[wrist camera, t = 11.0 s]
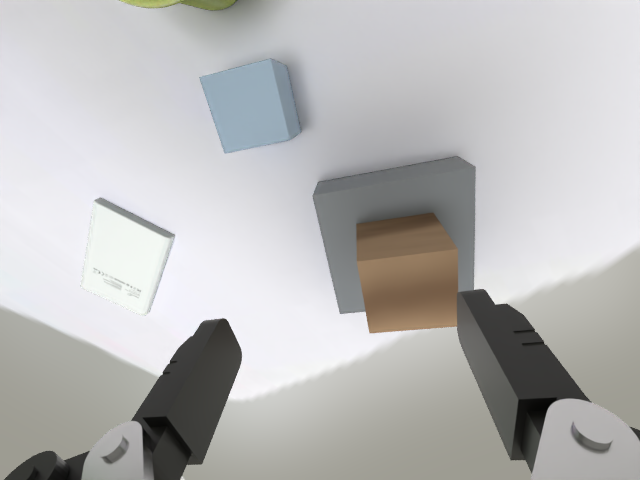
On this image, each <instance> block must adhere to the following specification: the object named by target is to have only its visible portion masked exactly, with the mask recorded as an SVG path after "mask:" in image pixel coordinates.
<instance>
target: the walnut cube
mask: <svg viewBox="0 0 640 480" xmlns="http://www.w3.org/2000/svg"><path fill="white" fill-rule="evenodd" d="M356 240H357V266H358V271H359V277H360V283H361V288H362V294H363V299H364V305H365V310H366V316H367V322H368V327H369V333H379V332H392V331H404V330H417V329H430V328H443V327H455V326H457V293H458V248H457V247H456V245H455V244H454V242H453V241H452V239H451V238H450V236H449V235H448V234H447V232H446V231H445V229H444V228H443V226H442V225H441V223H440V222H439V220H438V219H437V217H436V216H435V214H434V213H427V214H420V215H413V216H407V217H400V218H393V219H386V220H380V221H373V222H366V223H360V224H356Z"/></svg>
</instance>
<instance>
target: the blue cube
mask: <svg viewBox="0 0 640 480" xmlns="http://www.w3.org/2000/svg"><path fill="white" fill-rule="evenodd" d="M199 78H200V81H201V84H202V87H203V90H204V93H205V96H206V99H207V102H208V105H209V108H210V111H211V114H212V117H213V120H214V123H215V126H216V129H217V132H218V135H219V138H220V141H221V144H222V147H223V150H224V153H225V154H226V153H230V152H235V151H240V150H245V149H250V148H254V147H259V146H264V145H269V144H274V143H278V142H283V141H288V140H291V139H292V138H294V137H295V136H297V135H298V134H299V133H301V129H300V124H299V120H298V115H297V111H296V106H295V101H294V97H293V92H292V88H291V83H290V79H289V74H288V70H287V66H286V65H284V64H282V63H280V62H277V61H275V60H273V59H271V58H270V59H267V60H263V61H259V62H255V63H252V64H248V65H244V66H240V67H236V68H233V69H229V70H225V71H221V72H218V73H214V74H210V75H206V76H203V77H199Z"/></svg>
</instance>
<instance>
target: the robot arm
mask: <svg viewBox="0 0 640 480" xmlns="http://www.w3.org/2000/svg"><path fill="white" fill-rule="evenodd" d="M457 331H458V336H459V340H460V344H461V347H462V349H463V351H464V354H465V356H466V358H467V360H468V363H469V365H470V368H471V370H472V372H473V374H474V377H475V379H476V381H477V383H478V386H479V388H480V391H481V392H482V395H483V398H484V400H485V402H486V404H487V407H488V409H489V411H490V414H491V416H492V418H493V420H494V423H495V425H496V427H497V430H498V432H499V434H500V437H501V439H502V441H503V443H504V446H505V448H506V450H507V453H508V455H509V457H510V459H511V460H526V462H527V464H528V467H529V469H530V471H531V473H532V476H531V480H640V430H637V429H635V428H632V427H629V426H628V425H627V424H626V423H625V422H623V421H622V420H621V419H620V418H619V417H617V416H616V415H614V414H613V413H611V412H610V411H608V410H606V409H605V408H603V407H601V406H598V405H596V404H593V403H592V402H591V401H590V400H589V399H588V398H587V397H586V396H585V395H584V393H583V392H582V391H581V390H580V388H579V387H578V385H577V384H576V383H575V381H574V380H573V379H572V378H571V376H570V375H569V374H568V372H567V371H566V370H565V368H564V367H563V366H562V365H561V363H560V362H559V361H558V359H557V358H556V357H555V355H554V354H553V353H552V352H551V350H550V349H549V348H548V346H547V345H545V344H544V341H543V340H542V338H541V337H540V336H539V334H538V333H537V332H535V329H534V328H533V327H532V325H531V324H530V323H529V321H528V320H527V319H526V318H525V316H524V315H523V314H521V313H520V312H518V311H517V310H515V309H514V308H512V307H511V306H509V305H508V304H499V305H495V304H494V302H493V301H492V299H491V298H490V296H489V295H488V293H487V292H486V291H485V290H484V289H478V290H470V291H461V292H458V293H457ZM241 360H242V353H241V348H240V346H239V344H238V341H237V339H236V337H235V335H234V333H233V331H232V329H231V327H230V325H229V323H228V321H227V320H226V319H214V320H206V321H203V322H202V323H201V324H200V326H199V327H198V329H197V331H196V332H195V334H194V335H193V336H191V337H190V338H189V339H188V340H187V341H185V342H184V343H183V344H182V345H181V346H180V347H179V348H178V350H177V351H176V353H175V354H174V356H173V357H172V359H171V360H170V364H168V365H167V366H166V368H165V370H164V371H163V375H161V376H160V377H159V379H158V380H157V382H156V384H155V385H154V386H153V388H152V389H151V391H150V393H149V394H148V396H147V397H146V399H145V400H144V402H143V403H142V405H141V406H140V408H139V409H138V411H137V413H136V414H135V416H134V417H133V419H132V420H131V421H128V422H124V423H122V424H119V425H117V426H116V427H114V428H112V429H111V430H110V431H108V432H107V433H106V434H105V435H104V436H102V437H101V438H100V439H99V440H98V441H97V443H96V444H95V445H94V446H93V448H92V449H91V450H90V451H88V452H86V453H83V454H80V455H77V456H75V457H72V458H70V459H67V460H62V459H61V458H60V457H59V456H58V455H57V454H56V453H55V452H53V451H45V452H42V453H39V454H37V455H35V456H33V457H31V458H30V459H28V460H26V461H25V462H23V463H22V464H21V465H20V466H18V467H17V468H16V469H15V470H14V471H12V472H11V473H10V474H9V475H8V476H7V477H6V478H5V479H4V480H185V479H184V477H183V476H182V475H183V472H184V470H185V467H186V465H193V464H194V465H195V464H202V463H203V460H204V458H205V455H206V453H207V450H208V447H209V445H210V442H211V439H212V437H213V435H214V432H215V429H216V427H217V424H218V422H219V419H220V417H221V414H222V411H223V409H224V406H225V404H226V401H227V399H228V396H229V393H230V391H231V388H232V386H233V383H234V381H235V378H236V375H237V373H238V370H239V368H240V365H241Z"/></svg>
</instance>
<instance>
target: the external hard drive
mask: <svg viewBox="0 0 640 480" xmlns="http://www.w3.org/2000/svg"><path fill="white" fill-rule="evenodd" d="M174 236H175V235H174V234H172V233H170V232H168V231H166V230H164V229H162V228H160V227H158V226H156V225H154V224H152V223H150V222H148V221H146V220H144V219H142V218H140V217H138V216H136V215H134V214H132V213H130V212H128V211H126V210H124V209H122V208H120V207H118V206H116V205H114V204H112V203H110V202H108V201H106V200H104V199H102V198H98V199H96V200H94V204H93V210H92V216H91V223H90V229H89V235H88V241H87V247H86V254H85V260H84V267H83V273H82V279H81V285H80V286H81V288H82V289H84V290H86V291H89V292H91V293H93V294H95V295H97V296H100V297H102V298H104V299H106V300H108V301H111V302H113V303H115V304H117V305H119V306H121V307H123V308H126V309H128V310H130V311H132V312H134V313H136V314H139V315H142V316H146V315H147V314H148V313H149V311H150V308H151V305H152V302H153V299H154V296H155V293H156V290H157V287H158V284H159V281H160V278H161V275H162V272H163V269H164V266H165V263H166V261H167V258H168V254H169V251H170V248H171V245H172V242H173V239H174Z"/></svg>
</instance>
